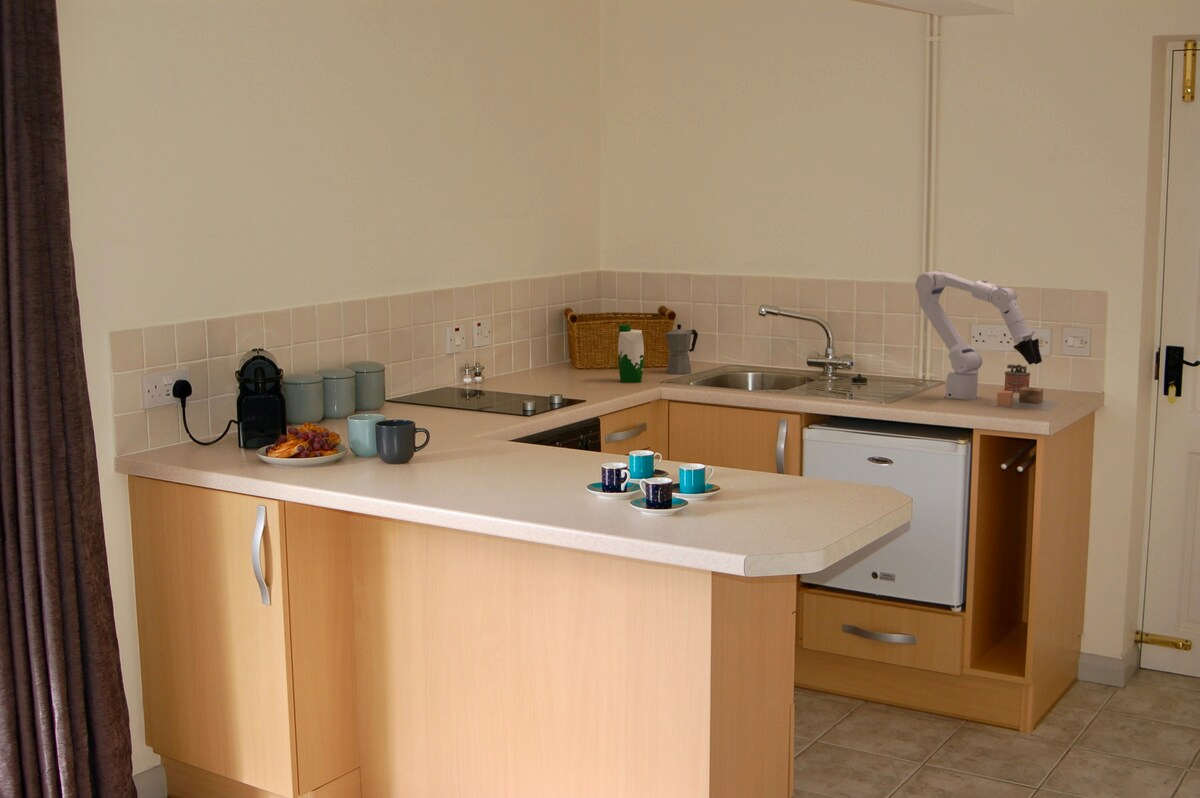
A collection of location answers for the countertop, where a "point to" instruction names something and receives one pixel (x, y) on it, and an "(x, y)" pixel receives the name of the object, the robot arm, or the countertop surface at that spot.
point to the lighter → (1016, 378)
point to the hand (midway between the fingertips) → (1036, 363)
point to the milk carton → (630, 354)
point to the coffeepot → (680, 350)
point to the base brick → (1031, 395)
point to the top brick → (1005, 398)
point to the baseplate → (1030, 404)
